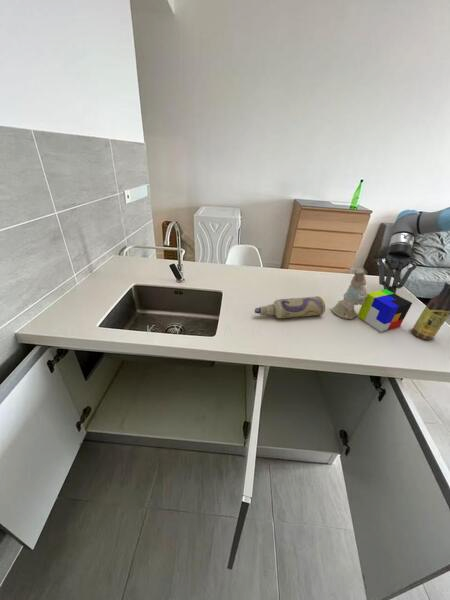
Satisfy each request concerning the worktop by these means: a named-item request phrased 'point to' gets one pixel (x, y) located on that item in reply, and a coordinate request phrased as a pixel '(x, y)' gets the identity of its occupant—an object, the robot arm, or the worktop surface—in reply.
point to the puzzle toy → (384, 310)
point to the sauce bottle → (433, 314)
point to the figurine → (352, 296)
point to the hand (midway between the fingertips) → (386, 303)
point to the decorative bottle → (294, 307)
